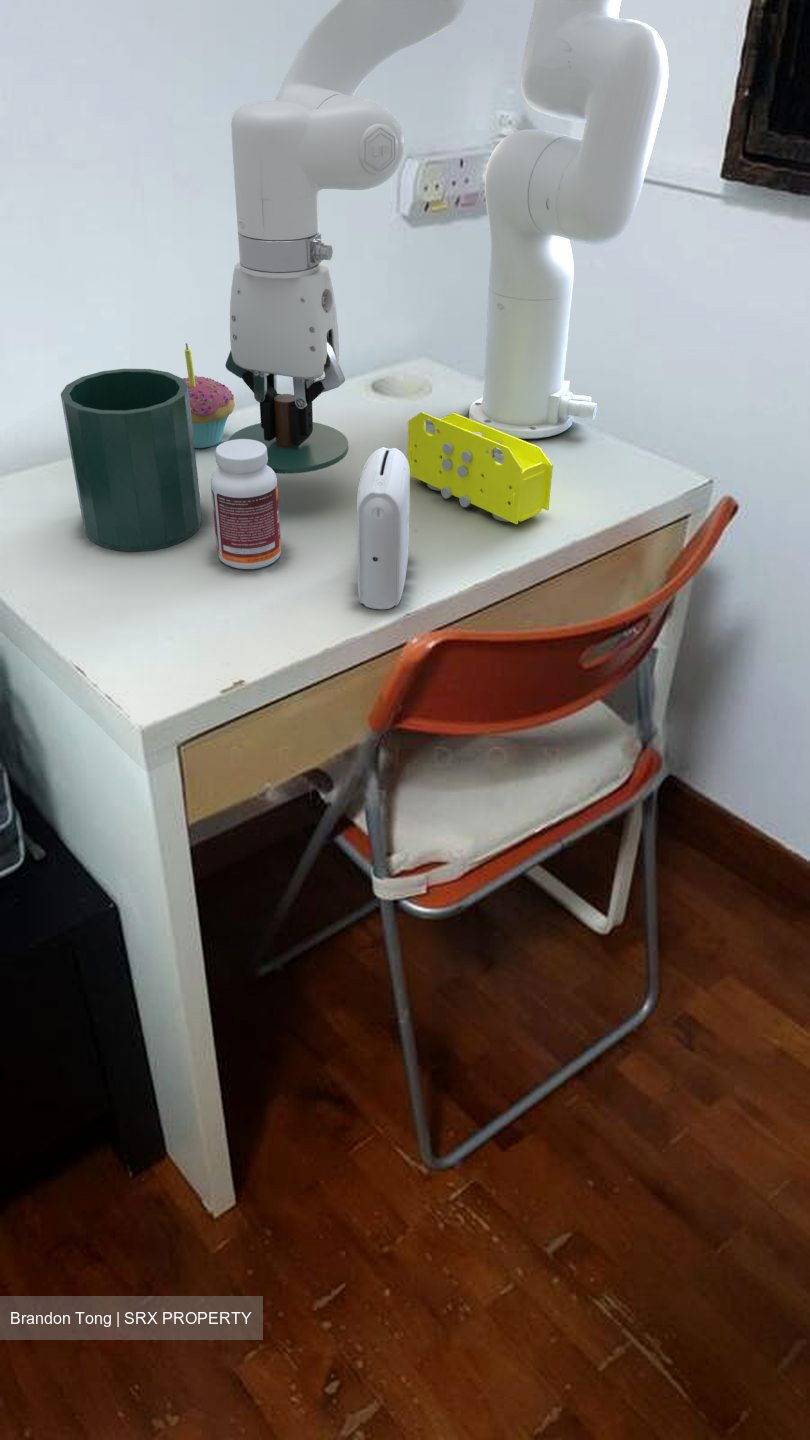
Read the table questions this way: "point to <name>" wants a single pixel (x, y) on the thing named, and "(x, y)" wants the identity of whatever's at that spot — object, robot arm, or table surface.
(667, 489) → the table surface
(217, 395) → the cupcake
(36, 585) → the table surface
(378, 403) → the table surface
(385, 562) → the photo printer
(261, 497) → the pill bottle
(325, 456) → the tin lid
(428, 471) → the yellow toy chassis
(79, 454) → the tin
